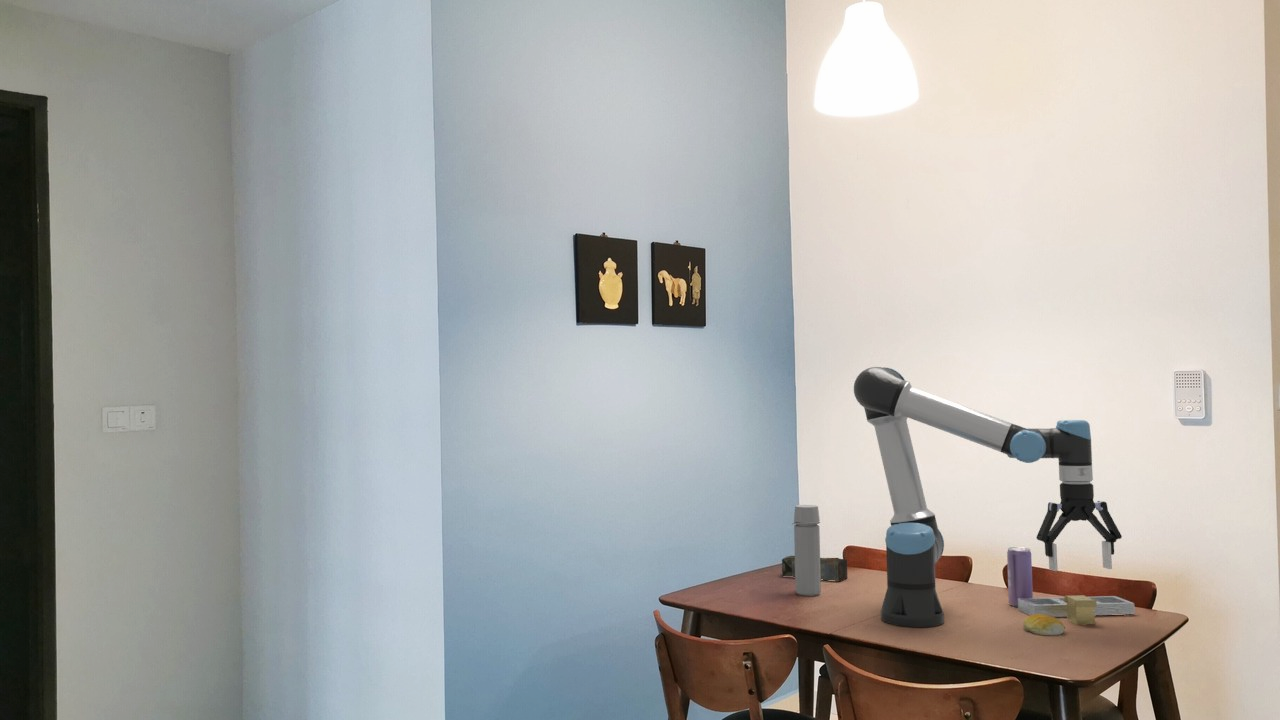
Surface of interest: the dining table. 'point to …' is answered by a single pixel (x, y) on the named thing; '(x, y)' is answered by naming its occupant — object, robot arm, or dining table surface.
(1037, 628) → the bread roll
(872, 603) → the dining table surface
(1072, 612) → the pale yellow block
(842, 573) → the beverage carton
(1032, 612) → the grey compartment tray
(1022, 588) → the beverage can
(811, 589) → the water bottle
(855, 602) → the dining table surface
